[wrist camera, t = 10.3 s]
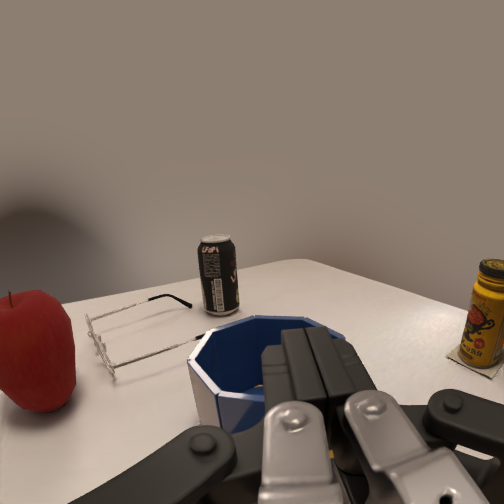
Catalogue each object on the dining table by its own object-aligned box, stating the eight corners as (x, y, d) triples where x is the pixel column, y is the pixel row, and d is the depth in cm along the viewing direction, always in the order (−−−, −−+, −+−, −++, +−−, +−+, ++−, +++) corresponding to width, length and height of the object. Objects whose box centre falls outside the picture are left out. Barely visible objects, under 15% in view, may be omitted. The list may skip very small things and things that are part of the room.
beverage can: (228, 300, 52) (222, 231, 49) (246, 310, 48) (241, 236, 45) (198, 309, 49) (190, 237, 46) (215, 321, 44) (206, 243, 41)
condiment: (445, 357, 29) (465, 262, 26) (473, 333, 33) (488, 250, 30) (491, 380, 23) (521, 279, 20) (512, 350, 26) (534, 262, 23)
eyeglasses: (85, 336, 40) (77, 306, 38) (188, 304, 51) (184, 277, 50) (111, 393, 27) (98, 356, 26) (246, 340, 39) (243, 306, 37)
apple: (72, 361, 33) (44, 265, 29) (113, 403, 26) (75, 285, 23) (0, 393, 23) (-40, 292, 20) (23, 449, 17) (-43, 327, 13)
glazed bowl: (361, 427, 22) (378, 351, 19) (252, 497, 16) (244, 428, 14) (283, 374, 31) (282, 304, 29) (188, 414, 25) (170, 340, 23)
